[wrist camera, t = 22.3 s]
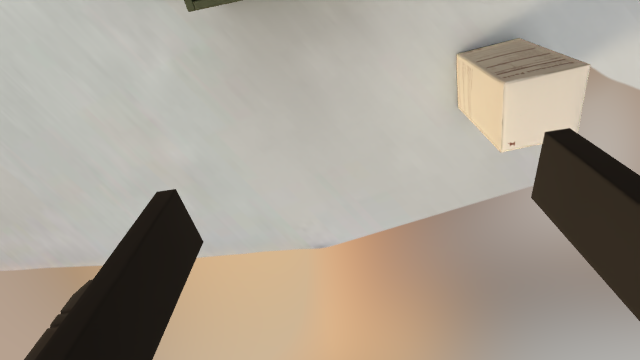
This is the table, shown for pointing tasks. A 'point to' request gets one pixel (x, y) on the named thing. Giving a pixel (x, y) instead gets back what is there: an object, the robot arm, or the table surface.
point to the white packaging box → (520, 92)
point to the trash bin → (205, 4)
